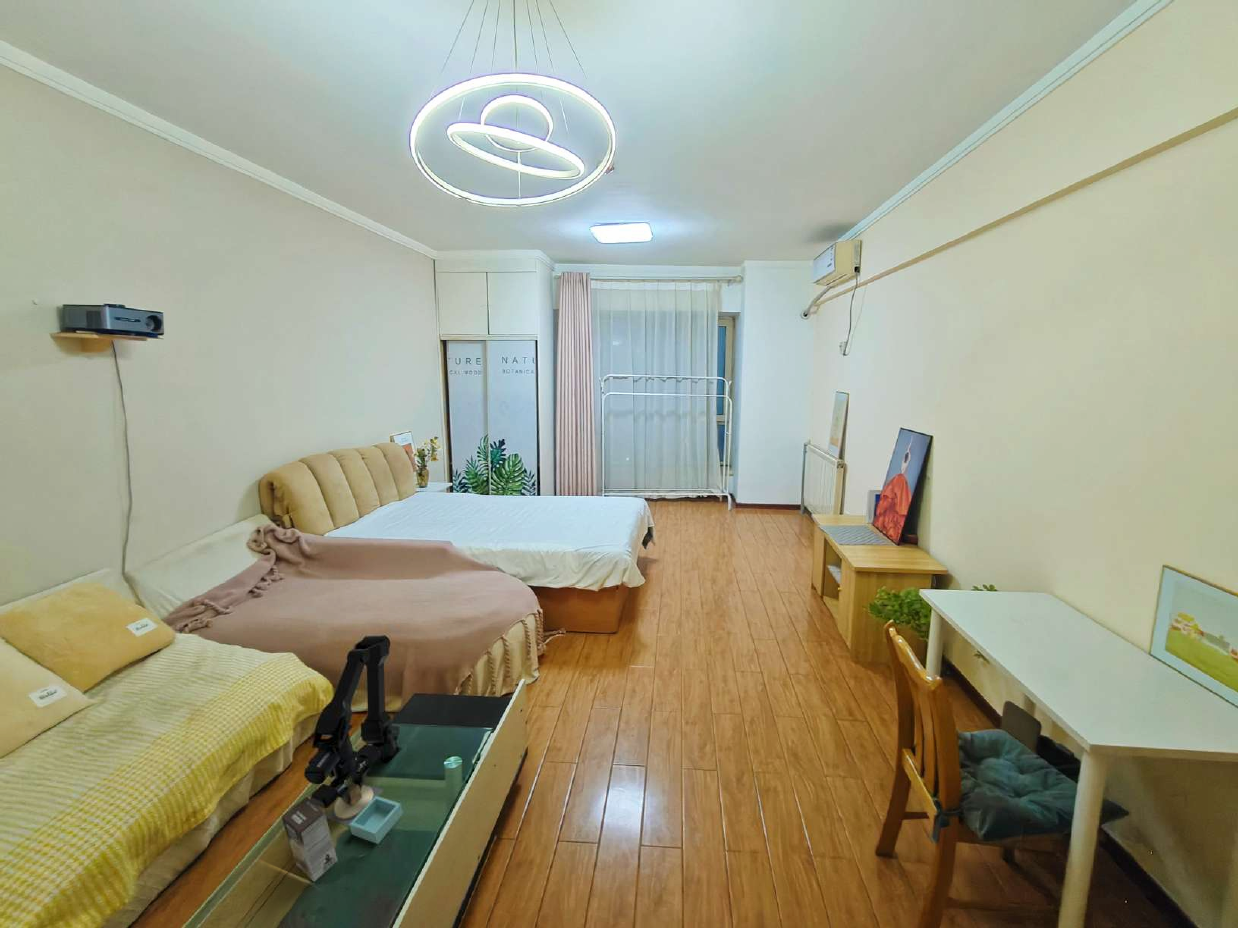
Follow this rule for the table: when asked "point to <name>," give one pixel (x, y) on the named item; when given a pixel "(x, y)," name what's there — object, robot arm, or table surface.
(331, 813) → the mat
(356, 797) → the lid
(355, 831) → the open box
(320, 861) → the coffee box
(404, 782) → the table surface
